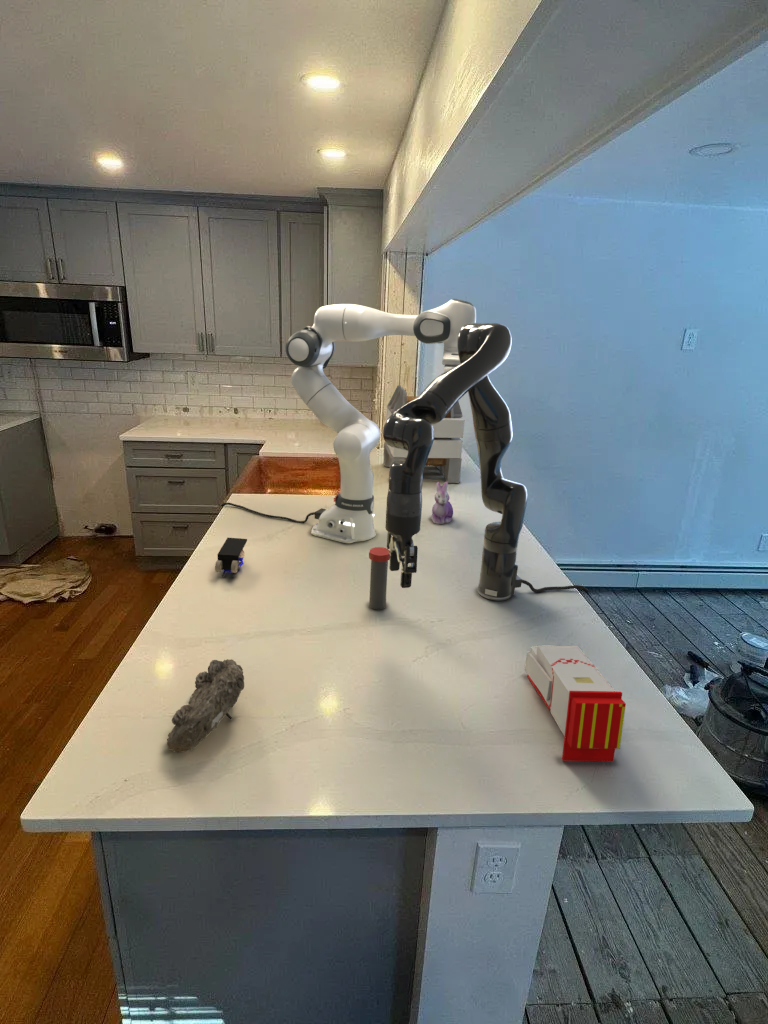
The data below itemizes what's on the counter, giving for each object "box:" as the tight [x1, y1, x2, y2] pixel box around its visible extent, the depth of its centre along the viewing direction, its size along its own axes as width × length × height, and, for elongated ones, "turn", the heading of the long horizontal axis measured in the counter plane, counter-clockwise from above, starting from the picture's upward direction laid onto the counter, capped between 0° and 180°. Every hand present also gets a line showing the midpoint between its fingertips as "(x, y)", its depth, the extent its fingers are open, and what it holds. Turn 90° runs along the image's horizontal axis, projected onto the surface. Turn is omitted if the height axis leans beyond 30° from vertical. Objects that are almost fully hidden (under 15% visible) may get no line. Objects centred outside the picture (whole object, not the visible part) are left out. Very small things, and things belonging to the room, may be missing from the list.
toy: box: [524, 644, 626, 762], centre depth 112 cm, size 12×13×30 cm
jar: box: [368, 559, 389, 610], centre depth 149 cm, size 4×4×15 cm
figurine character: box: [214, 537, 248, 578], centre depth 166 cm, size 7×8×15 cm
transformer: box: [383, 384, 465, 484], centre depth 268 cm, size 34×33×41 cm
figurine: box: [430, 480, 454, 525], centre depth 212 cm, size 9×10×15 cm
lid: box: [368, 546, 390, 562], centre depth 146 cm, size 6×6×2 cm
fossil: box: [166, 658, 245, 754], centre depth 106 cm, size 22×10×15 cm
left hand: (454, 403), depth 174 cm, fingers open, 8 cm apart
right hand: (399, 578), depth 126 cm, fingers open, 8 cm apart
